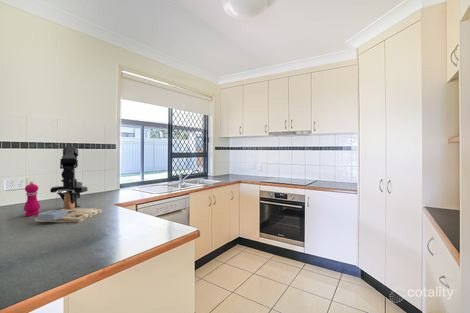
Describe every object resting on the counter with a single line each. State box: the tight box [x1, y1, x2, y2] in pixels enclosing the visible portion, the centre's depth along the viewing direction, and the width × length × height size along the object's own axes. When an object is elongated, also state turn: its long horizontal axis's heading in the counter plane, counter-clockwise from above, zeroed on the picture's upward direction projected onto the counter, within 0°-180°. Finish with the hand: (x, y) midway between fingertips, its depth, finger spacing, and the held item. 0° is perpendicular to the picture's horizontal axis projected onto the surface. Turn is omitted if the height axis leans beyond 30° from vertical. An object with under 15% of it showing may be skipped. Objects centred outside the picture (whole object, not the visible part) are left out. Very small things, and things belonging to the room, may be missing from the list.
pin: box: [63, 193, 76, 210], centre depth 136 cm, size 4×4×9 cm
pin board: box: [34, 208, 103, 223], centre depth 133 cm, size 20×24×2 cm
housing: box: [36, 209, 67, 220], centre depth 124 cm, size 9×9×3 cm
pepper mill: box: [23, 181, 41, 217], centre depth 135 cm, size 7×7×20 cm
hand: (69, 203), depth 136 cm, fingers closed on pin, 3 cm apart
